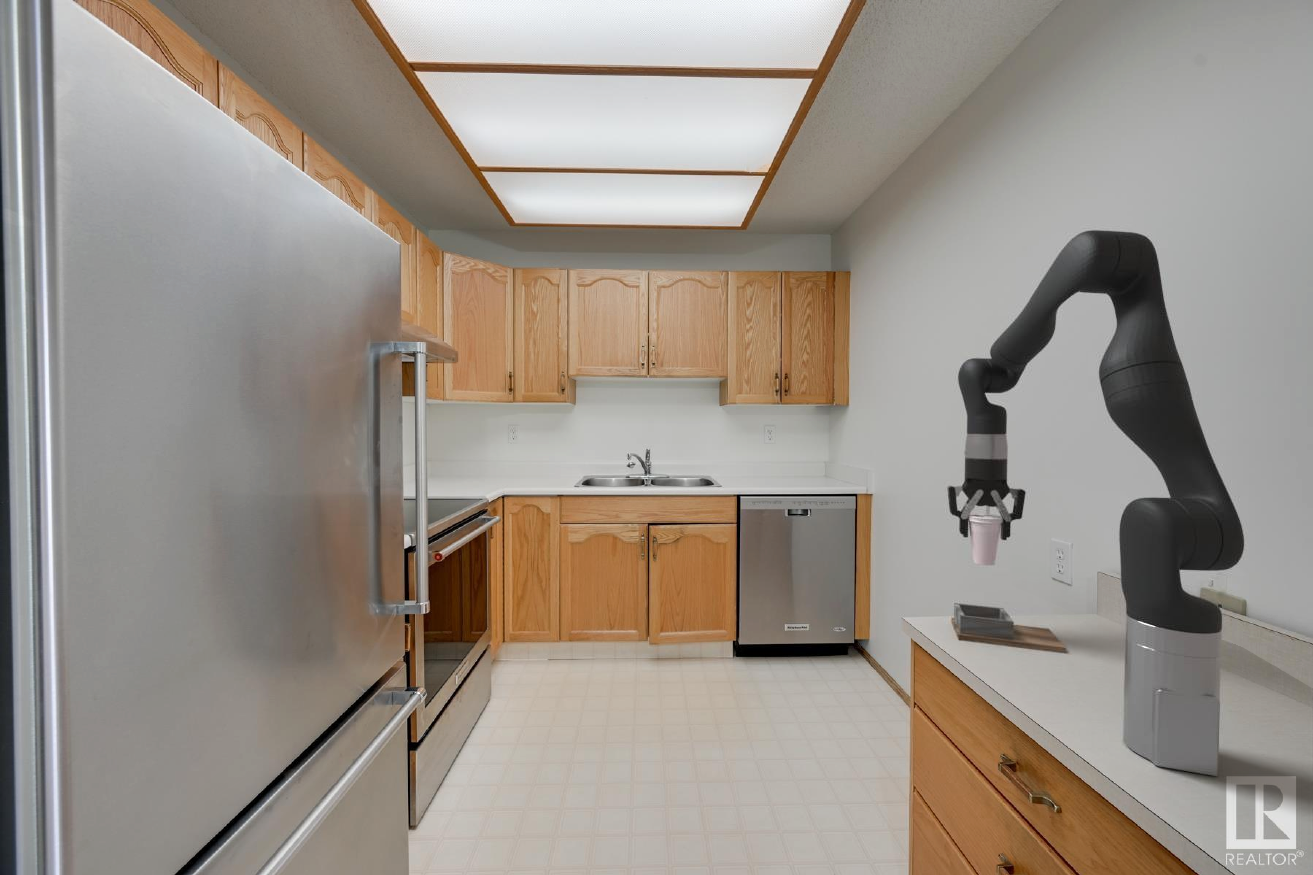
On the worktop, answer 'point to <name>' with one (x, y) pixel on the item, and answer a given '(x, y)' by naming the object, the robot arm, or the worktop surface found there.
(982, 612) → the caddy
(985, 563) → the smoothie
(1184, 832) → the worktop surface
